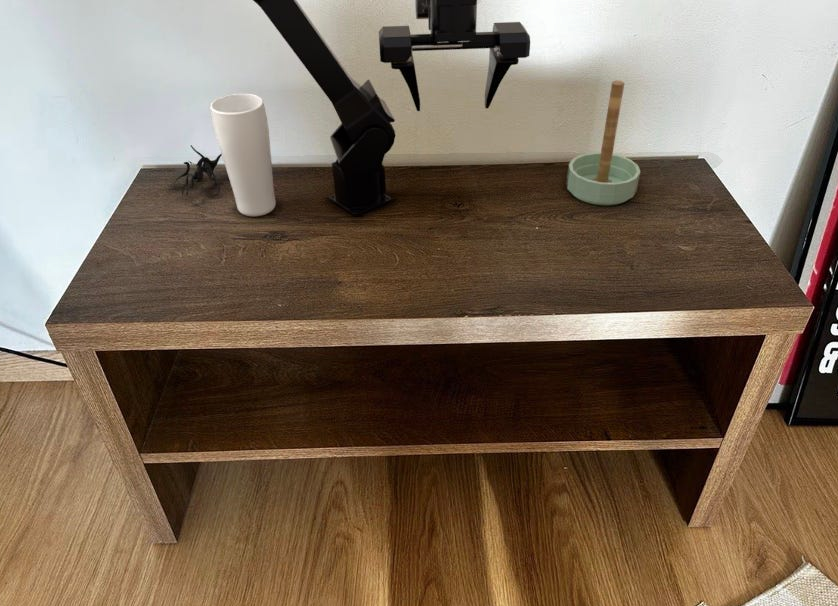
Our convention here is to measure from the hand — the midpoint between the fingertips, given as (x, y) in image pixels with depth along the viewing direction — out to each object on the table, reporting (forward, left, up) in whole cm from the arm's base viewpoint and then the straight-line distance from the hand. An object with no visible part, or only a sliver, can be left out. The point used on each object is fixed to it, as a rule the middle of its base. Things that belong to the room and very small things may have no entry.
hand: (452, 108), depth 94 cm
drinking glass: (-24, +14, -12) cm, 30 cm away
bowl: (+16, -15, -12) cm, 25 cm away
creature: (-27, +25, -12) cm, 39 cm away
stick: (+16, -15, -12) cm, 24 cm away
